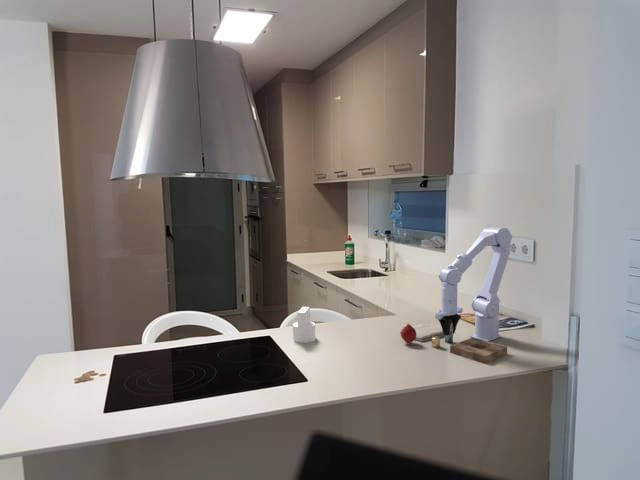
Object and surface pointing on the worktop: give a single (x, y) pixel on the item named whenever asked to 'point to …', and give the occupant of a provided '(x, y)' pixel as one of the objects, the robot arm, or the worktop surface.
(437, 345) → the short brass pin
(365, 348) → the worktop surface
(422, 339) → the washcloth
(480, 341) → the walnut hole plate
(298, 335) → the base with upright slab
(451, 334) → the long steel pin
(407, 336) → the onion
